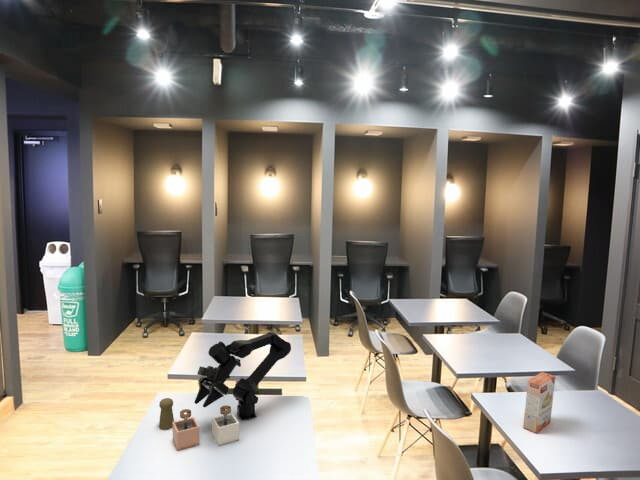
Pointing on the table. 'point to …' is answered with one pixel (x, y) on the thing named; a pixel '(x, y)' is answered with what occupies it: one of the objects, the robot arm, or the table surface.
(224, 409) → the round copper knob
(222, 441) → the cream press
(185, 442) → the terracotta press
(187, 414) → the brown and grey plunger
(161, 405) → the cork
